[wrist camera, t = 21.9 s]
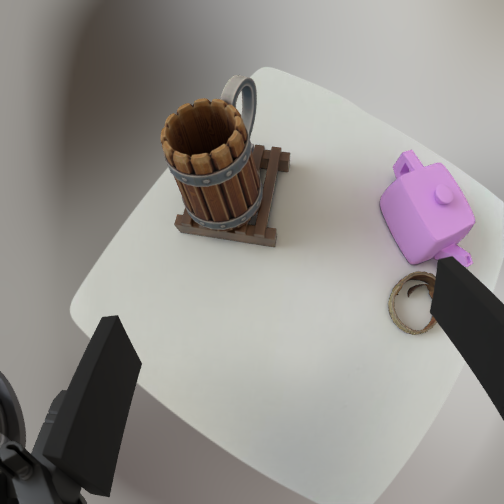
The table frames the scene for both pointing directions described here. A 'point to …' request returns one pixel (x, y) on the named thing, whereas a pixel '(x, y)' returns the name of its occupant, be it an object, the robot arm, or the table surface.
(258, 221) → the drying rack
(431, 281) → the bracelet
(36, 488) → the robot arm
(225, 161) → the mug
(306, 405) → the table surface
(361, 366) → the table surface
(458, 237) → the teapot
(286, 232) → the table surface
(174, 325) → the table surface
